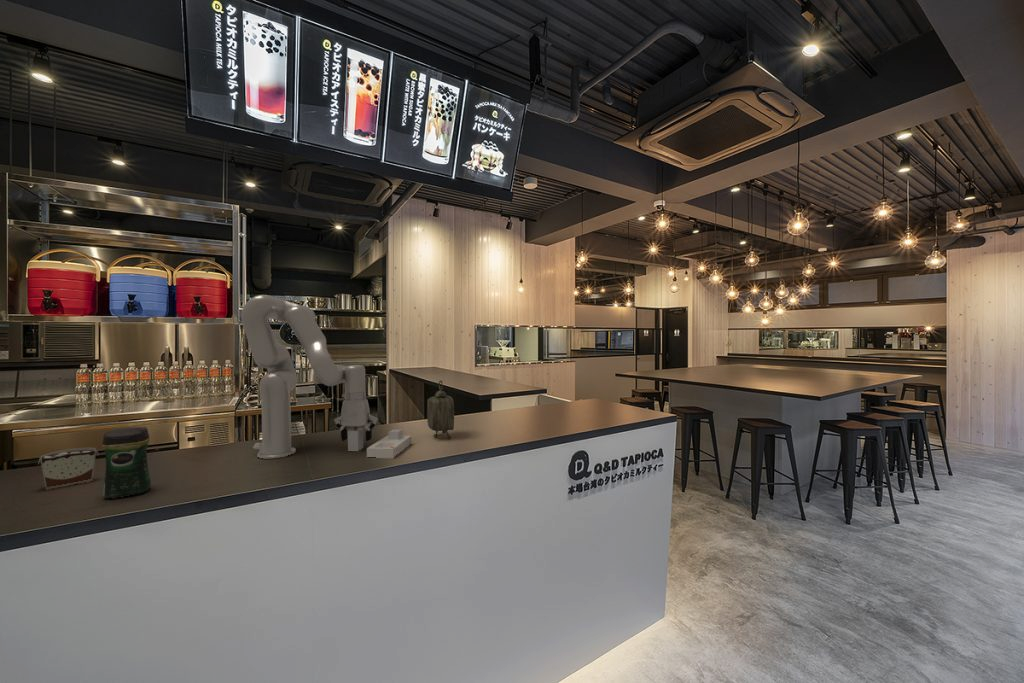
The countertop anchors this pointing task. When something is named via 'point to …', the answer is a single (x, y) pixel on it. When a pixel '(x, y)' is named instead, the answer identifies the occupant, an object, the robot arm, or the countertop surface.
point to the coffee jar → (126, 462)
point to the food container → (68, 466)
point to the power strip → (389, 445)
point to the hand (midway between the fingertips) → (356, 440)
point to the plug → (355, 439)
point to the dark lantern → (440, 412)
